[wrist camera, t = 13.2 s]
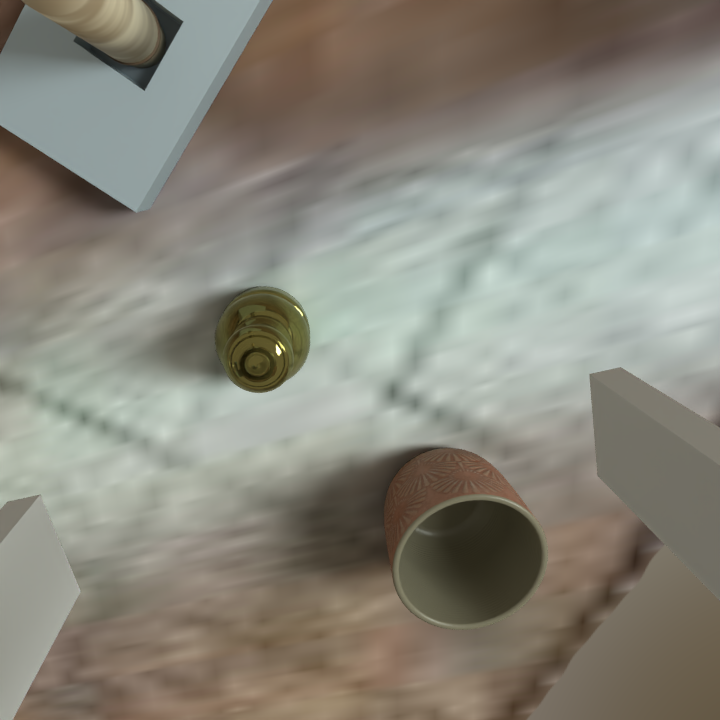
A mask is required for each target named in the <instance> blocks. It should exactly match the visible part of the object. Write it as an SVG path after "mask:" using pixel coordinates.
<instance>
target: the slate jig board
mask: <svg viewBox="0 0 720 720" xmlns="http://www.w3.org/2000/svg"><path fill="white" fill-rule="evenodd" d="M143 1H144V2H145V3H147V4H148V5H149V7H150V8H151V9H152V10H153V12H154V13H155V15H156V17H157V19H158V22H159V24H160V26H161V27H162V29H163V31H164V34H165V38H166V49H165V53H164V55H163V57H162V59H161V60H160V61H159V62H158V63H157V64H156V65H154V66H152V67H149V68H137V67H134V66H128V65H123V64H120V63H118V62H116V61H114V60H113V59H111V58H110V57H108V56H107V55H106V54H105V53H104V52H103V51H101V50H99V49H98V48H96V47H94V46H93V45H91V44H89V43H88V42H86V41H85V40H83V39H81V38H80V37H78V36H76V35H75V34H73V33H71V32H70V31H68V30H67V29H65V28H63V27H62V26H60V25H58V24H57V23H55V22H53V21H52V20H50V19H48V18H47V17H45V16H44V15H42V14H40V13H39V12H37V11H35V10H34V9H32V8H30V7H29V6H28V5H26V4H25V6H24V8H23V10H22V12H21V14H20V16H19V18H18V20H17V22H16V24H15V26H14V28H13V30H12V32H11V34H10V36H9V38H8V40H7V42H6V44H5V46H4V48H3V50H2V52H1V54H0V125H1V126H2V127H4V128H5V129H7V130H8V131H10V132H12V133H13V134H15V135H16V136H18V137H19V138H21V139H22V140H24V141H26V142H27V143H29V144H30V145H32V146H33V147H35V148H37V149H38V150H40V151H41V152H43V153H44V154H46V155H47V156H49V157H51V158H52V159H54V160H55V161H57V162H58V163H60V164H61V165H63V166H65V167H66V168H68V169H69V170H71V171H72V172H74V173H75V174H77V175H79V176H80V177H82V178H83V179H85V180H86V181H88V182H89V183H91V184H93V185H94V186H96V187H97V188H99V189H100V190H102V191H104V192H105V193H107V194H108V195H110V196H111V197H113V198H114V199H116V200H118V201H119V202H121V203H122V204H124V205H125V206H127V207H128V208H130V209H132V210H133V211H135V212H140V211H144V210H148V209H150V208H151V206H152V204H153V203H154V201H155V199H156V197H157V196H158V194H159V192H160V191H161V189H162V187H163V186H164V184H165V182H166V181H167V179H168V177H169V175H170V174H171V172H172V170H173V169H174V167H175V165H176V164H177V162H178V160H179V158H180V157H181V155H182V153H183V152H184V150H185V148H186V147H187V145H188V143H189V142H190V140H191V138H192V136H193V135H194V133H195V131H196V130H197V128H198V126H199V125H200V123H201V121H202V119H203V118H204V116H205V114H206V113H207V111H208V109H209V108H210V106H211V104H212V102H213V101H214V99H215V97H216V96H217V94H218V92H219V91H220V89H221V87H222V86H223V84H224V82H225V80H226V79H227V77H228V75H229V74H230V72H231V70H232V69H233V67H234V65H235V63H236V62H237V60H238V58H239V57H240V55H241V53H242V52H243V50H244V48H245V47H246V45H247V43H248V41H249V40H250V38H251V36H252V35H253V33H254V31H255V30H256V28H257V26H258V24H259V23H260V21H261V19H262V18H263V16H264V14H265V13H266V11H267V9H268V7H269V6H270V4H271V2H272V1H273V0H143Z"/></svg>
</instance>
